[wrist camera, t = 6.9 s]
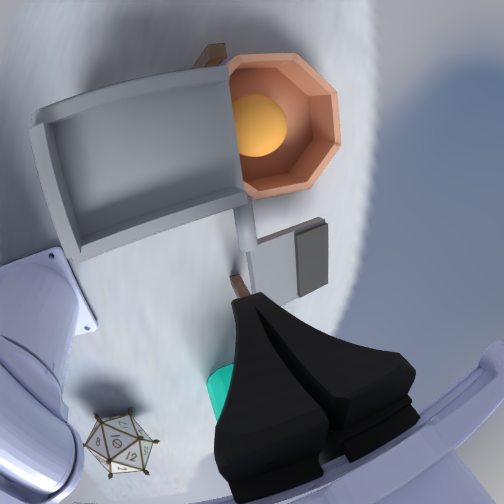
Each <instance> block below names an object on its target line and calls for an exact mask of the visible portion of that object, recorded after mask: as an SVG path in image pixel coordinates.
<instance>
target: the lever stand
mask: <svg viewBox="0 0 504 504" xmlns="http://www.w3.org/2000/svg"><path fill="white" fill-rule="evenodd" d="M226 58H227V56H226V49H225V43H219V44H210V45H207V47H206V48H205V50H204V51H203V53H202V54H201V56H200V57H199V59H198V60H197V62H196V63H195V65H194V66H193V69H195V68H203V67H213V66H218V65H219V64H220V63H221V62H222V61H223V60H224V59H226ZM230 280H231V284H232V287H233V289H234V291H235V293H236V295H237V297H238V298H242V297H245V296H248V295H251V294H250V293H249V291H248V289H247V287H246V285H245V284H244V282H243V280H242V278H241V276H240V275H239V274H238V275H235V276H231V277H230Z"/></svg>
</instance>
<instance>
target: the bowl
mask: <svg viewBox="0 0 504 504" xmlns="http://www.w3.org/2000/svg"><path fill="white" fill-rule="evenodd" d="M225 65H226V67H228V69H229V76H230V80H229V88H230V94H231V101H232V103H233V102H234V101H235V100H237V99H238V98H240V97H243V96H246V95H253V94H257V95H263V96H266V97H269V98H271V99H272V100H274V101H275V102H277V103H278V104H279V105H280V107H281V108H282V109H283V111H284V113H285V115H286V118H287V133H286V136H285V139H284V140H283V142H282V144H281V145H280V146H279V147H278V148H277V149H276V150H274V151H273V152H271V153H269V154H267V155H264V156H259V157H250V156H245V155H242V154H240V153H239V156H240V163H241V170H242V177H243V184H244V190H245V191H246V193H247V194H249V195H250V196H252V197H253V198H255V199H256V200H259V199H263V198H268V197H272V196H277V195H282V194H287V193H291V192H296V191H301V190H306V189H310V188H311V187H312V186H313V184H314V183H315V181H316V180H317V179H318V177H319V176H320V174H321V173H322V172H323V170H324V169H325V168H326V166H327V165H328V163H329V162H330V161H331V159H332V158H333V156H334V155H335V154H336V152H337V151H338V149H339V148H340V147H341V132H340V119H339V108H338V97H337V91H336V90H335V89H334V88H333V87H332V86H331V85H330V84H329V83H328V82H327V81H326V80H325V79H324V78H323V77H322V76H321V75H320V74H319V73H317V72H316V71H315V70H314V69H313V68H312V67H311V66H310V65H309V64H308V63H307V62H306V61H305V60H303V59H302V58H301V57H300V56H299V55H298V54H297V53H262V54H244V55H236V56H235V57H234V58H232V59H231V60H230V61H229V62H227V63H226V64H225Z"/></svg>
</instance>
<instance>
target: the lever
mask: <svg viewBox="0 0 504 504" xmlns="http://www.w3.org/2000/svg"><path fill="white" fill-rule="evenodd" d="M229 80H230V76H229V69H228V67H226V65H224V66H213V67H203V68H195V69H187V70H180V71H173V72H167V73H162V74H156V75H151V76H146V77H141V78H137V79H132V80H128V81H124V82H120V83H116V84H112V85H108V86H105V87H101V88H98V89H94V90H91V91H88V92H85V93H82V94H79V95H76V96H73V97H70V98H67V99H64V100H61V101H59V102H56V103H53V104H51V105H48V106H46V107H43V108H41V109H39V110H36V113H34V114H32V115H31V120H32V125H33V127H32V128H30V129H28V131H29V136H30V141H31V146H32V151H33V155H34V159H35V164H36V168H37V172H38V175H39V179H40V183H41V186H42V190H43V193H44V196H45V200H46V203H47V206H48V209H49V212H50V215H51V218H52V221H53V224H54V227H55V229H56V232H57V235H58V237H59V240H60V243H61V245H62V248H63V250H64V253H65V255H66V258H67V259H69V258H72V260H73V263H74V264H77V263H79V262H82V261H85V260H87V259H90V258H92V257H95V256H97V255H100V254H103V253H105V252H108V251H110V250H113V249H116V248H118V247H121V246H124V245H127V244H129V243H132V242H135V241H138V240H140V239H143V238H146V237H149V236H152V235H154V234H157V233H160V232H163V231H166V230H169V229H172V228H174V227H177V226H180V225H183V224H186V223H189V222H192V221H195V220H198V219H201V218H204V217H207V216H210V215H214V214H217V213H220V212H223V211H226V210H229V209H232V208H233V211H234V217H235V223H236V229H237V235H238V241H239V247H240V250H241V251H244V252H246V257H247V263H248V269H249V276H250V282H251V288H252V294H255V293H259V292H262V293H264V294H265V295H266V296H267V297H268V298H270V299H271V300H272V301H274V302H275V303H276V304H278V305H279V306H282V305H284V304H286V303H288V302H290V301H292V300H294V299H296V298H298V297H300V298H301V297H303V296H305V295H306V294H308V293H310V292H312V291H314V290H316V289H318V288H320V287H322V286H324V285H326V284H328V224H327V223H325V219H322V218H320V217H317V218H314V219H312V220H309V221H306V222H303V223H301V224H298V225H295V226H292V227H290V228H287V229H284V230H281V231H279V232H276V233H273V234H271V235H268V236H265V237H262V238H260V239H257V237H256V229H255V222H254V215H253V207H252V200H251V197H250V196H247V193H246V191H245V190H244V184H243V177H242V170H241V163H240V156H239V149H238V142H237V135H236V129H235V122H234V115H233V108H232V101H231V94H230V88H229Z"/></svg>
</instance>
